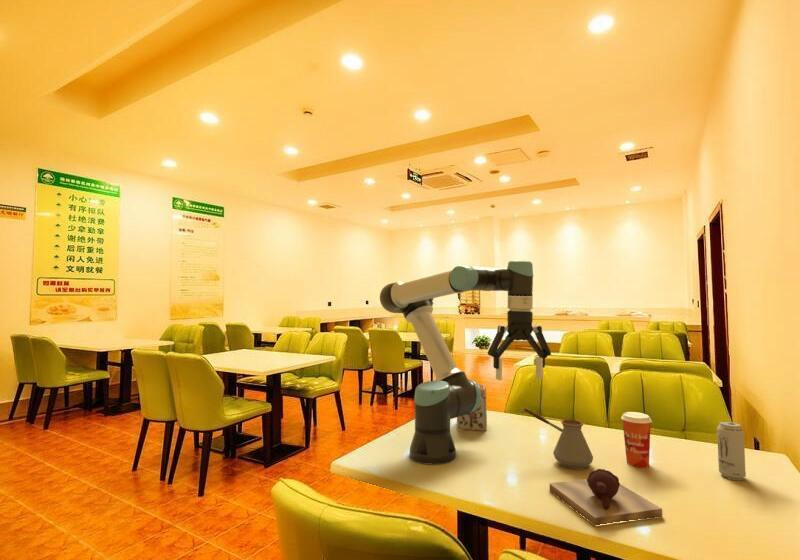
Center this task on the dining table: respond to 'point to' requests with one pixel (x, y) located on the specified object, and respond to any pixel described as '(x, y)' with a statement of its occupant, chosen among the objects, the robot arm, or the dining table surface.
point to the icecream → (603, 485)
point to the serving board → (591, 507)
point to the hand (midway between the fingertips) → (519, 378)
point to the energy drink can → (731, 450)
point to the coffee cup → (637, 438)
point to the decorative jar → (475, 415)
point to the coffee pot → (570, 444)
